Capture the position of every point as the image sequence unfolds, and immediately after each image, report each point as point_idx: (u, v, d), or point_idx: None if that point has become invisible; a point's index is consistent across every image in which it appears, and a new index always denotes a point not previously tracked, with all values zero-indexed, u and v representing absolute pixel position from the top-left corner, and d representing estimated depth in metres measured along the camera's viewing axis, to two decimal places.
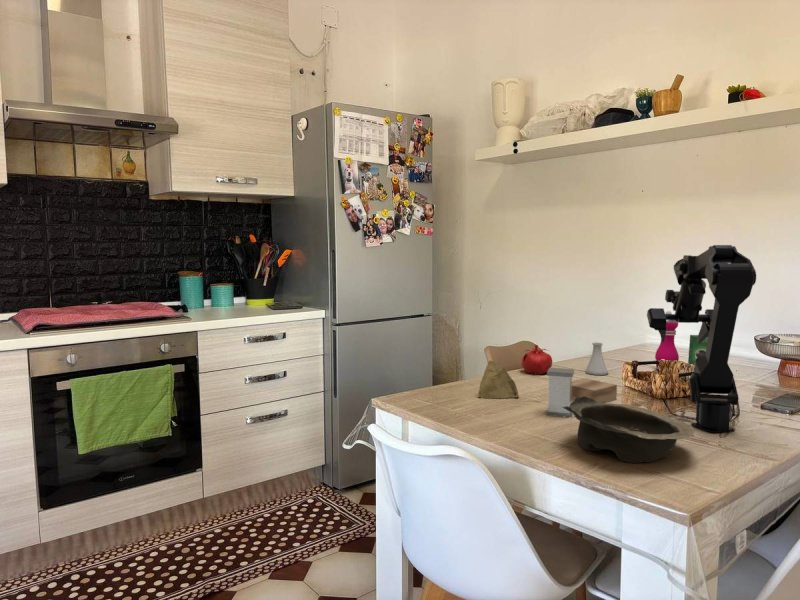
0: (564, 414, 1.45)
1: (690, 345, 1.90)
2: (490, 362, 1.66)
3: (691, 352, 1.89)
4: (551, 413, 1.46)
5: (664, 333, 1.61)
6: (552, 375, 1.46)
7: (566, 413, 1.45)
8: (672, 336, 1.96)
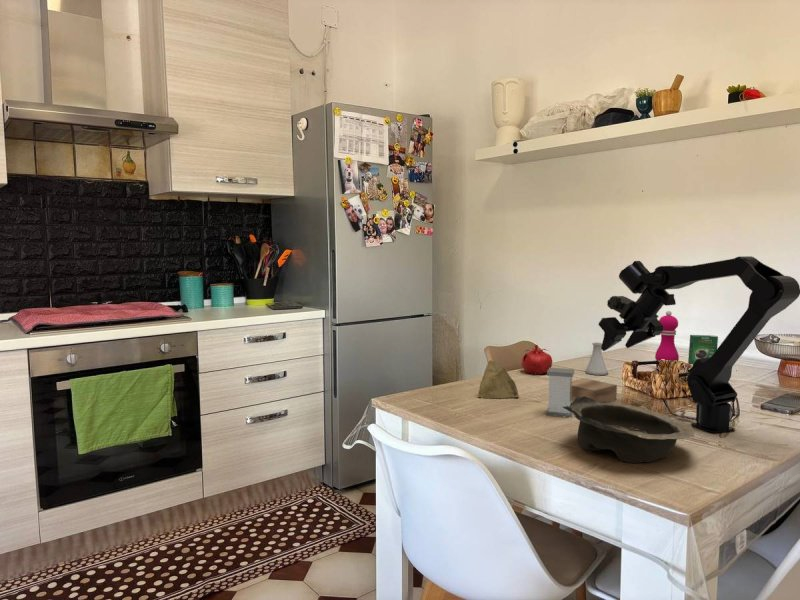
0: (564, 414, 1.45)
1: (690, 345, 1.90)
2: (490, 362, 1.66)
3: (691, 352, 1.89)
4: (551, 413, 1.46)
5: (616, 343, 1.52)
6: (552, 375, 1.46)
7: (566, 413, 1.45)
8: (672, 336, 1.96)
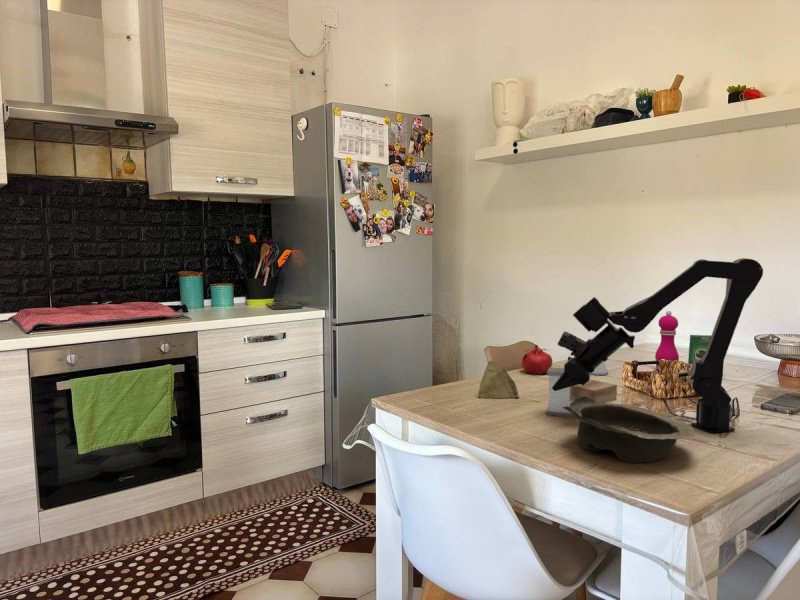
0: (564, 414, 1.45)
1: (690, 345, 1.90)
2: (490, 362, 1.66)
3: (691, 352, 1.89)
4: (551, 413, 1.46)
5: None
6: (552, 375, 1.46)
7: (566, 413, 1.45)
8: (672, 336, 1.96)
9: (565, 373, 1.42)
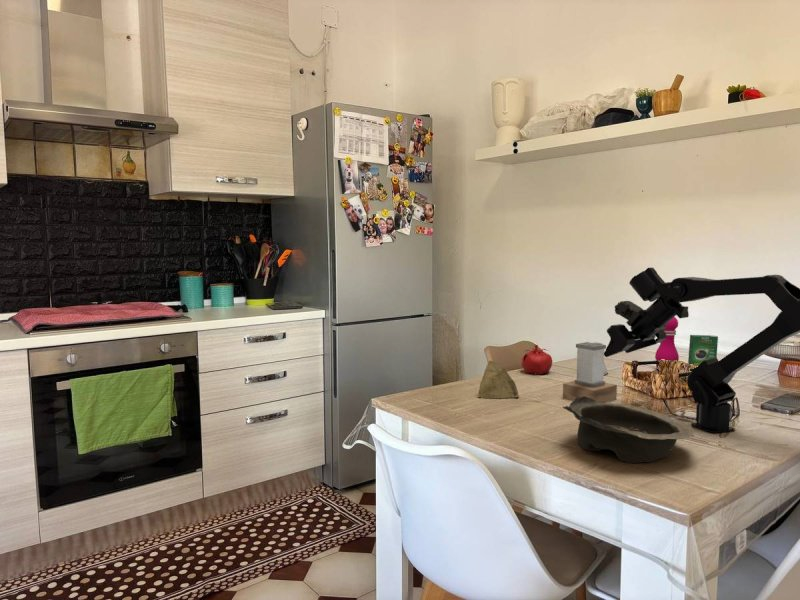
0: (588, 384, 1.59)
1: (690, 345, 1.90)
2: (490, 362, 1.66)
3: (691, 352, 1.89)
4: (578, 382, 1.62)
5: (622, 351, 1.48)
6: (579, 347, 1.61)
7: (590, 383, 1.59)
8: (672, 336, 1.96)
9: (611, 339, 1.48)
